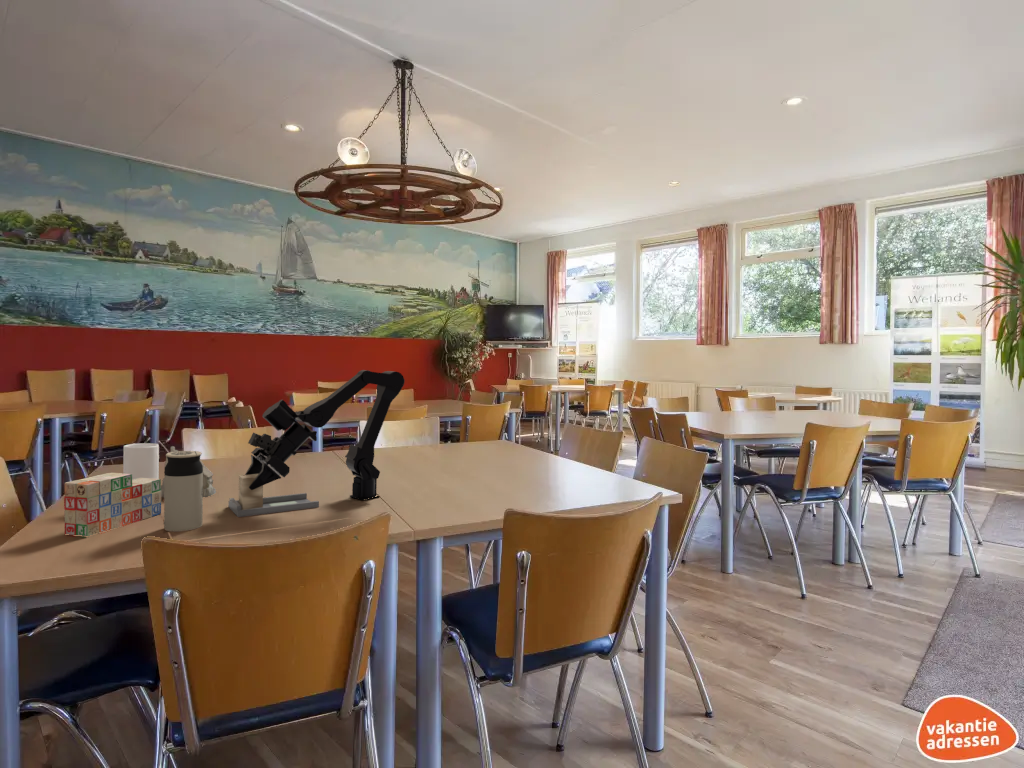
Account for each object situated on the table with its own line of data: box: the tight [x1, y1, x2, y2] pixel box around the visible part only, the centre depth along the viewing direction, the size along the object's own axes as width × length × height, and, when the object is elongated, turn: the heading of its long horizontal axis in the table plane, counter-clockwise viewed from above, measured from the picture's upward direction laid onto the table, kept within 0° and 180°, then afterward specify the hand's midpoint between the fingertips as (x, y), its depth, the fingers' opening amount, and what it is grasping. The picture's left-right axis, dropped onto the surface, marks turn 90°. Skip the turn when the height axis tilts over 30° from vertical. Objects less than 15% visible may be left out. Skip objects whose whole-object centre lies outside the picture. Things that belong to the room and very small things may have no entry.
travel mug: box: [163, 450, 204, 532], centre depth 140 cm, size 8×8×18 cm
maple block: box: [238, 474, 264, 510], centre depth 157 cm, size 5×5×9 cm
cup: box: [122, 442, 160, 480], centre depth 162 cm, size 8×8×16 cm
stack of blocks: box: [63, 472, 162, 536], centre depth 142 cm, size 21×6×12 cm, turn 169°
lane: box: [228, 492, 320, 518], centre depth 160 cm, size 21×12×3 cm, turn 126°
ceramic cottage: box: [161, 445, 217, 499], centre depth 176 cm, size 16×16×15 cm
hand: (246, 485), depth 156 cm, fingers open, 9 cm apart
